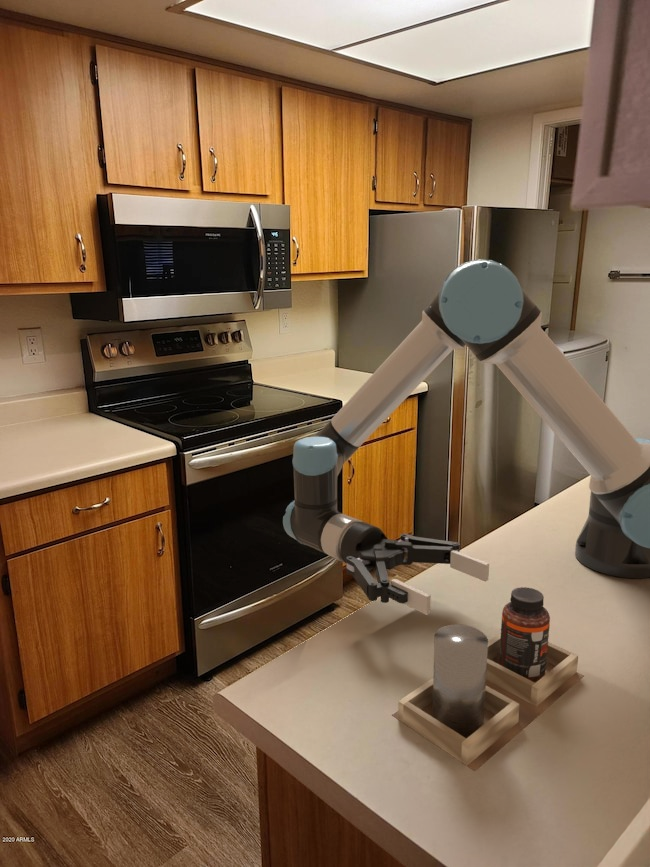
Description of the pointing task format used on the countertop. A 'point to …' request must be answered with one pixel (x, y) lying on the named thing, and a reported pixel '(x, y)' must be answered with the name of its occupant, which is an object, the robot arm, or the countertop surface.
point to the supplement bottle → (525, 634)
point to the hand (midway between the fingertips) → (459, 588)
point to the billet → (460, 678)
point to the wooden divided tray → (493, 705)
